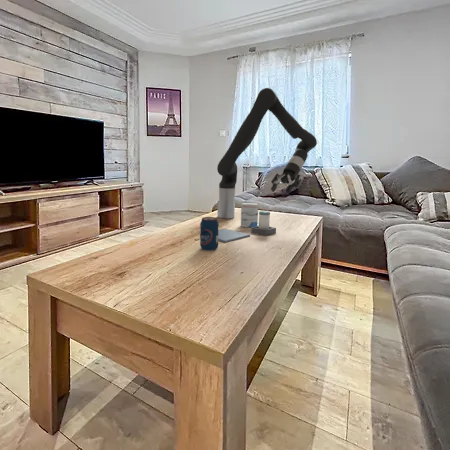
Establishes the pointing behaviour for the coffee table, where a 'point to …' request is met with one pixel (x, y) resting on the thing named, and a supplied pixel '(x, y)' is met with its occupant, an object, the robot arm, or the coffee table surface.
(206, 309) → the coffee table surface
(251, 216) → the ink box
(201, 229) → the soda can
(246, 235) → the slate board
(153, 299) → the coffee table surface
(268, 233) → the sleeve
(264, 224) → the ball
